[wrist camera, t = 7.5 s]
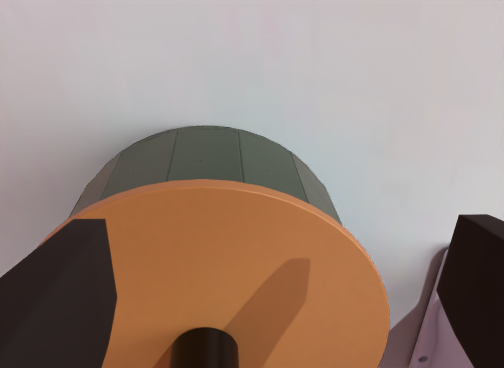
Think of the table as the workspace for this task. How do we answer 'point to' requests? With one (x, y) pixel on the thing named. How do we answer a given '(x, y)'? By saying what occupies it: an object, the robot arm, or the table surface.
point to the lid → (237, 281)
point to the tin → (208, 165)
